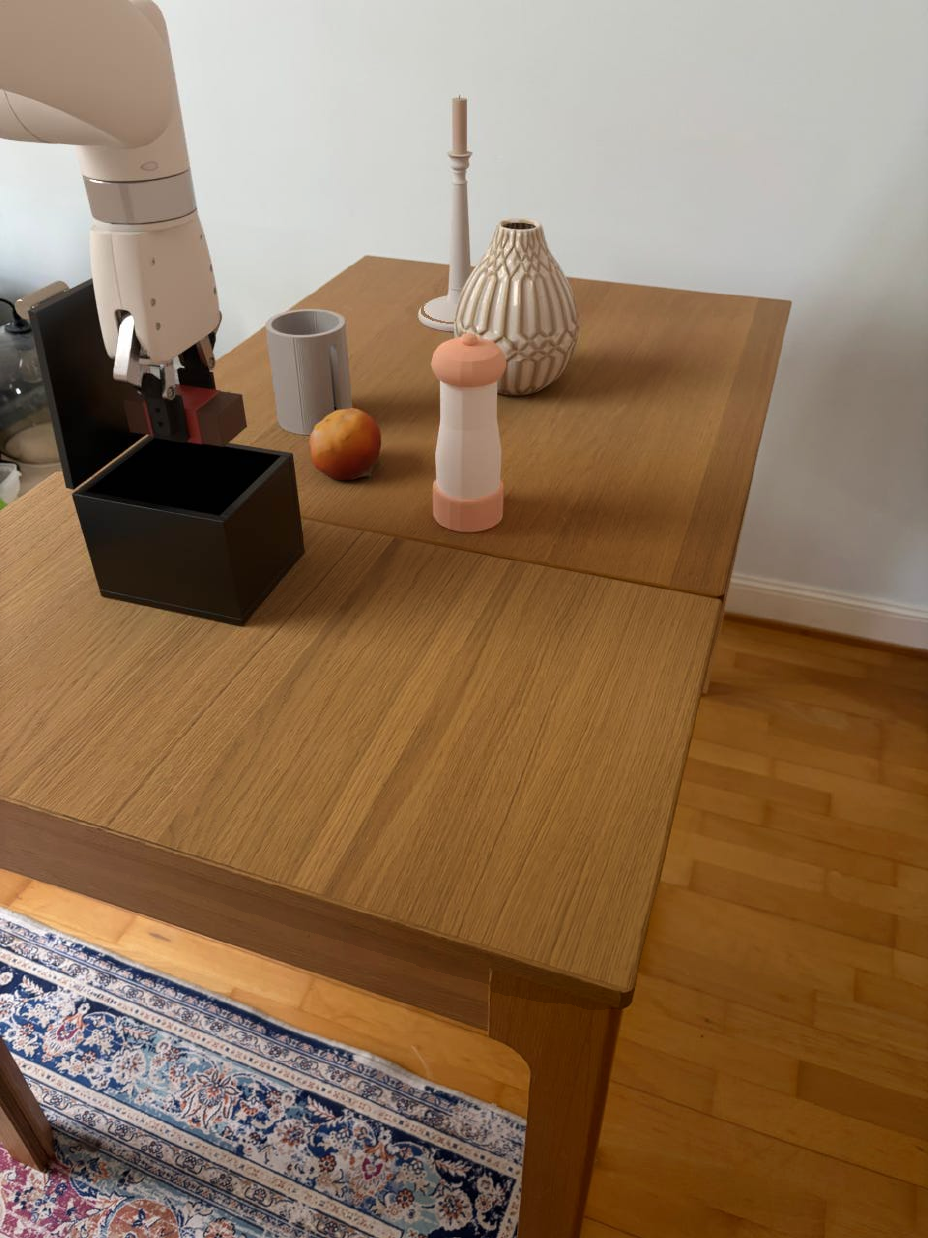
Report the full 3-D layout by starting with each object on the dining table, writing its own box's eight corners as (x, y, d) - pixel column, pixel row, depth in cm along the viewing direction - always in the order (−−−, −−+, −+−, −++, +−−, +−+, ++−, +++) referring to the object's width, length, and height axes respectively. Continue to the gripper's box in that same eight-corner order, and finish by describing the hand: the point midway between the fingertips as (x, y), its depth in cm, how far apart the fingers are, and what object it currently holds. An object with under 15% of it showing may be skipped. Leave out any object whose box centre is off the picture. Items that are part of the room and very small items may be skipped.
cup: (296, 399, 121) (285, 305, 113) (363, 407, 119) (356, 312, 111) (265, 429, 114) (251, 332, 107) (335, 439, 112) (326, 340, 105)
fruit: (396, 476, 102) (353, 417, 98) (336, 508, 104) (292, 452, 100) (401, 441, 108) (361, 385, 104) (345, 473, 111) (304, 418, 107)
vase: (582, 365, 129) (595, 210, 117) (563, 414, 117) (575, 247, 105) (470, 354, 133) (470, 202, 120) (440, 400, 120) (437, 237, 108)
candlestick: (408, 327, 141) (400, 100, 122) (430, 299, 151) (425, 85, 132) (493, 334, 138) (497, 104, 120) (509, 305, 148) (515, 88, 130)
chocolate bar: (247, 426, 81) (242, 392, 79) (223, 448, 78) (217, 413, 76) (156, 412, 83) (149, 379, 81) (129, 432, 80) (121, 398, 78)
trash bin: (305, 551, 93) (293, 452, 86) (242, 626, 83) (223, 521, 77) (175, 527, 96) (154, 430, 90) (101, 596, 87) (71, 493, 80)
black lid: (133, 262, 80) (78, 251, 81) (36, 311, 70) (-25, 298, 71) (156, 426, 89) (107, 414, 90) (73, 490, 80) (19, 475, 81)
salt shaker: (517, 515, 98) (524, 335, 86) (465, 540, 94) (465, 355, 83) (471, 489, 102) (472, 314, 91) (419, 512, 99) (413, 332, 87)
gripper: (161, 167, 76) (200, 382, 87) (23, 223, 64) (90, 465, 75) (244, 174, 74) (273, 392, 86) (118, 233, 62) (172, 479, 73)
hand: (187, 424), depth 80 cm, fingers closed on chocolate bar, 4 cm apart
